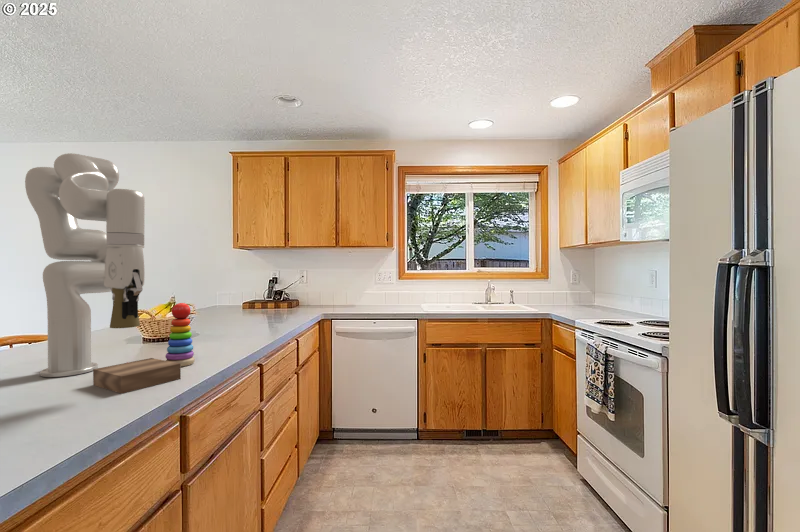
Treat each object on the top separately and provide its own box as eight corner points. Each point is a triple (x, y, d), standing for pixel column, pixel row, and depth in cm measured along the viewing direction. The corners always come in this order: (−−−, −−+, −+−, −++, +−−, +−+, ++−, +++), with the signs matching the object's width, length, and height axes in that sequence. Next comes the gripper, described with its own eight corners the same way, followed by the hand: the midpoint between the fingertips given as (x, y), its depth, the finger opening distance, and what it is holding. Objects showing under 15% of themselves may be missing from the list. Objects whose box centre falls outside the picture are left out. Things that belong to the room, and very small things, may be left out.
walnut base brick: (93, 385, 99) (93, 369, 99) (151, 372, 111) (151, 357, 111) (121, 393, 92) (121, 376, 92) (180, 378, 104) (180, 363, 104)
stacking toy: (181, 368, 115) (181, 304, 115) (158, 367, 116) (157, 304, 117) (200, 362, 123) (200, 302, 123) (178, 361, 124) (177, 301, 124)
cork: (138, 323, 99) (138, 280, 99) (142, 326, 95) (142, 280, 94) (108, 325, 95) (108, 280, 95) (110, 329, 91) (111, 281, 90)
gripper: (91, 241, 96) (91, 316, 96) (125, 239, 87) (124, 322, 87) (126, 242, 102) (125, 313, 102) (160, 241, 94) (160, 318, 94)
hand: (125, 316), depth 95 cm, fingers closed on cork, 3 cm apart
